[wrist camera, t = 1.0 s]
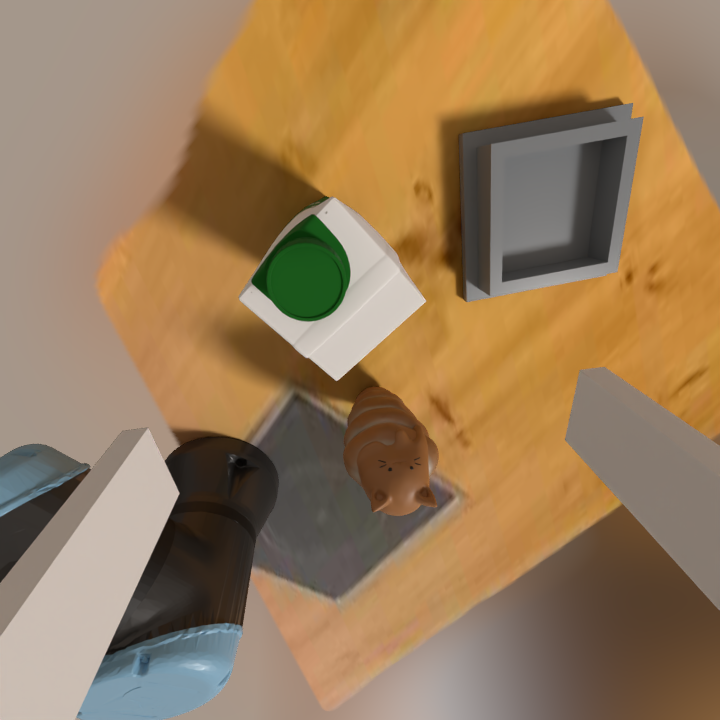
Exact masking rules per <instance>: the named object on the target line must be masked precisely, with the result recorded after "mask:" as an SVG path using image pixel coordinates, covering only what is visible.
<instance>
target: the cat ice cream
mask: <svg viewBox="0 0 720 720" xmlns="http://www.w3.org/2000/svg"><path fill="white" fill-rule="evenodd" d="M344 445H345V449H344V453H343V458H344V464H345V467H346V470H347V472H348V474H349V475H350V476H351V477H352V478H353V479H354V480H355V481H356V482H357V483H358V484H359V485H360V486H361V487H363V489H364V490H365V492H366V494H367V496H368V498H369V499H370V501H371V508H372V511H373V512H376V511H378V510H380V511H382V512H384V513H386V514H389V515H393V516H402V515H406V514H409V513H411V512H413V511H415V510H416V509H417V508H419V507H420V505H421V504H422V505H425V506H430V507H437V503H436V499H435V497H434V495H433V493H432V491H431V489H430V488H429V478H430V476H431V475H432V474H433V472H434V471H435V469H436V466H437V463H438V458H439V455H438V449H437V446H436V444H435V443H434V442H433V440H431V439H430V438H429V435H428V432H427V430H426V428H425V427H424V425H422V424H421V423H420V422H419V421H418V420H417V419H416V417H415V416H414V414H413V413H412V412H411V411H410V410H409V409H408V408H407V407H406V406H405V405H404V403H403V401H402V400H401V399H400V398H399V397H398V396H396V395H395V394H392V393H391V392H390V391H388V390H386V389H384V388H381V387H369V388H367V389H365V390H363V391H362V392H361V393H360V394H359V395H358V397H357V398H356V401H355V404H354V405H353V407H352V411H351V412H350V414H349V417H348V429H347V430H346V433H345V436H344Z"/></svg>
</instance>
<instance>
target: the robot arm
mask: <svg viewBox="0 0 720 720" xmlns="http://www.w3.org/2000/svg"><path fill="white" fill-rule="evenodd" d="M565 440H566V442H567V443H568V444H569V445H570V446H571V447H572V448H573V449H574V450H575V452H576V453H577V454H578V455H579V456H580V457H581V458H582V459H583V460H584V461H585V463H586V464H587V465H588V466H589V467H590V468H591V469H592V470H593V471H594V472H595V474H596V475H597V476H598V477H599V478H600V479H601V480H602V481H603V482H604V483H605V485H606V486H607V487H608V488H609V489H610V490H611V491H612V492H613V493H614V495H615V496H616V497H617V498H618V499H619V500H620V501H621V502H622V503H623V504H624V506H625V507H626V508H627V509H628V510H629V511H630V512H631V513H632V514H633V515H634V516H635V518H636V519H637V520H638V521H639V522H640V523H641V524H642V525H643V526H644V528H645V529H646V530H647V531H648V532H649V533H650V534H651V535H652V536H653V538H655V540H656V541H657V542H658V543H659V544H660V545H661V546H662V547H663V549H664V550H665V551H666V552H667V553H668V554H669V555H670V556H671V557H672V558H673V559H674V560H675V562H676V563H677V564H678V565H679V566H680V567H681V568H682V569H683V571H685V573H686V574H687V575H688V576H689V577H690V578H691V579H692V580H693V582H694V583H695V584H696V585H697V586H698V587H699V588H700V589H701V590H702V592H703V593H704V594H705V595H706V596H707V597H708V598H709V599H710V600H711V601H712V603H713V604H714V605H715V606H716V607H717V608H718V609H719V610H720V446H719V445H718V444H716V443H715V442H713V441H712V440H710V439H709V438H707V437H706V436H704V435H703V434H701V433H700V432H699V431H697V430H696V429H694V428H693V427H691V426H690V425H688V424H687V423H685V422H684V421H682V420H681V419H680V418H678V417H677V416H675V415H674V414H672V413H671V412H669V411H668V410H666V409H665V408H663V407H662V406H661V405H659V404H658V403H656V402H655V401H653V400H652V399H650V398H649V397H647V396H646V395H644V394H643V393H642V392H640V391H639V390H637V389H636V388H634V387H633V386H631V385H630V384H628V383H627V382H626V381H624V380H623V379H621V378H620V377H618V376H617V375H615V374H614V373H612V372H611V371H609V370H608V369H607V368H605V367H600V368H592V369H585V370H580V372H579V377H578V381H577V386H576V391H575V395H574V400H573V405H572V410H571V414H570V419H569V424H568V428H567V433H566V438H565ZM89 467H90V465H89V464H86V463H84V464H81V463H79V462H78V461H76V460H74V459H72V458H70V457H68V456H66V455H65V454H62V453H61V452H59V451H57V450H55V449H54V448H52V447H49V446H47V445H42V444H30V445H24V446H21V447H18V448H16V449H14V450H12V451H10V452H9V453H7V454H5V455H4V456H2V457H1V458H0V720H75V718H76V717H77V718H79V719H81V720H163V719H167V718H171V717H174V716H178V715H181V714H183V713H186V712H189V711H191V710H193V709H195V708H198V707H200V706H202V705H203V704H205V703H207V702H208V701H209V700H211V699H212V698H213V697H215V696H216V695H217V694H218V693H219V692H220V691H221V690H222V689H223V687H224V686H225V685H226V683H227V681H228V679H229V678H230V675H231V673H232V669H233V665H234V660H235V656H236V652H237V647H238V643H239V640H240V638H241V636H242V626H243V620H244V613H245V607H246V600H247V594H248V587H249V581H250V575H251V568H252V562H253V555H254V548H255V543H256V538H257V536H258V534H259V533H260V531H261V529H262V527H263V526H264V524H265V522H266V520H267V518H268V516H269V514H270V513H271V511H272V509H273V508H274V505H275V502H276V499H277V493H278V484H279V479H278V474H277V471H276V468H275V466H274V464H273V463H272V461H271V460H270V459H269V458H268V457H267V456H266V455H265V454H264V453H263V452H262V451H260V450H259V449H257V448H256V447H254V446H252V445H250V444H248V443H245V442H243V441H240V440H236V439H231V438H225V437H208V438H201V439H197V440H193V441H190V442H188V443H186V444H183V445H182V446H180V447H178V448H177V449H176V450H174V451H173V452H172V453H171V454H170V455H169V456H168V458H167V459H166V460H165V462H164V459H163V457H162V455H161V453H160V451H159V449H158V447H157V445H156V443H155V440H154V439H153V436H152V434H151V432H150V430H149V428H141V429H134V430H126V431H122V432H121V433H120V435H119V436H118V437H117V438H116V439H115V441H114V442H113V443H112V444H111V446H110V447H109V448H108V449H107V451H106V452H105V453H104V455H103V456H102V457H101V458H100V459H99V461H98V462H97V463H96V464H95V466H94V467H93V468H92V469H89Z"/></svg>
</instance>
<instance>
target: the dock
mask: <svg viewBox="0 0 720 720" xmlns="http://www.w3.org/2000/svg"><path fill="white" fill-rule="evenodd" d="M632 107H633V103H630V104H625V105H619V106H613V107H608V108H602V109H597V110H591V111H585V112H580V113H574V114H569V115H563V116H558V117H552V118H546V119H541V120H535V121H530V122H524V123H518V124H513V125H507V126H502V127H496V128H490V129H485V130H479V131H474V132H468V133H463V134H460V135H459V160H460V195H461V229H462V264H463V299H464V300H465V301H466V302H470V301H475V300H480V299H486V298H491V297H496V296H501V295H507V294H512V293H517V292H522V291H528V290H533V289H538V288H543V287H548V286H554V285H559V284H564V283H569V282H575V281H580V280H585V279H590V278H595V277H601V276H606V274H609V273H614V272H617V271H618V265H619V259H620V253H621V247H622V241H623V235H624V229H625V223H626V217H627V211H628V206H629V200H630V194H631V188H632V182H633V176H634V170H635V164H636V158H637V152H638V146H639V140H640V135H641V129H642V123H643V117H639V118H634V119H631V114H632Z"/></svg>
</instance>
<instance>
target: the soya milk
mask: <svg viewBox="0 0 720 720" xmlns="http://www.w3.org/2000/svg"><path fill="white" fill-rule="evenodd" d="M239 300H240V301H241V302H242V303H243V304H244V305H246V306H247V307H248V308H249V309H250V310H251V311H253V312H254V313H255V314H256V315H257V316H258V317H259V318H261V319H262V320H263V321H264V322H265V323H266V324H268V325H269V326H270V327H271V328H272V329H273V330H275V331H276V332H277V333H278V334H279V335H280V336H281V337H283V338H284V339H285V340H286V341H287V342H289V343H290V344H291V345H292V346H293V347H294V349H296V350H297V351H298V352H299V353H300V354H301V355H303V356H304V357H305V358H309V359H311V360H312V361H313V362H314V363H315V364H317V365H318V366H319V367H320V368H321V369H322V370H324V371H325V372H326V373H327V374H328V375H330V376H331V377H332V378H333V379H334V380H336V381H338V380H339V379H340V378H341V377H342V376H343V375H345V374H346V373H347V372H348V371H349V370H350V369H351V368H352V367H353V366H355V365H356V364H357V363H358V362H359V361H360V360H361V359H362V358H364V357H365V356H366V355H367V354H368V353H369V352H370V351H371V350H372V349H374V348H375V347H376V346H377V345H378V344H379V343H380V342H381V341H382V340H384V339H385V338H386V337H387V336H388V335H389V334H390V333H391V332H392V331H394V330H395V329H396V328H397V327H398V326H399V325H400V324H401V323H403V322H404V321H405V320H406V319H407V318H408V317H409V316H410V315H411V314H413V313H414V312H415V311H416V310H417V309H418V308H419V307H420V306H421V305H423V304H424V303H425V302H426V300H425V298H424V297H423V296H422V294H421V293H420V291H419V290H418V289H417V287H416V286H415V284H414V283H413V282H412V280H411V279H410V277H409V276H408V274H407V273H406V271H405V270H404V268H403V266H402V265H401V263H400V261H399V258H398V255H397V253H396V252H395V251H394V250H393V249H392V247H391V246H390V245H389V244H388V243H387V242H386V241H385V240H384V239H383V237H382V236H381V235H380V234H379V233H378V232H377V231H376V230H375V229H374V228H373V227H372V226H371V225H370V224H369V223H368V222H367V221H366V220H365V219H364V218H363V217H362V216H361V215H360V214H358V213H357V212H356V211H354V210H353V209H351V208H350V207H348V206H347V205H345V204H344V203H342V202H340V201H339V200H338V199H336V198H334V197H330V198H329V197H327V196H326V197H324V198H322V199H320V200H318V201H316V202H314V203H312V204H310V205H308V206H307V207H305V208H304V209H303V210H302V211H300V212H299V213H298V214H297V215H296V216H295V217H294V218H293V219H292V220H291V221H290V222H289V223H288V224H287V225H286V226H285V228H284V229H283V230H282V232H281V233H280V234H279V236H278V237H277V238H276V240H275V241H274V242H273V244H272V245H271V247H270V248H269V250H268V251H267V253H266V255H265V256H264V258H263V259H262V261H261V263H260V264H259V266H258V267H257V269H256V270H255V272H254V274H253V275H252V277H251V278H250V280H249V281H248V283H247V284H246V286H245V288H244V289H243V291H242V292H241V294H240V295H239Z"/></svg>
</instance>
